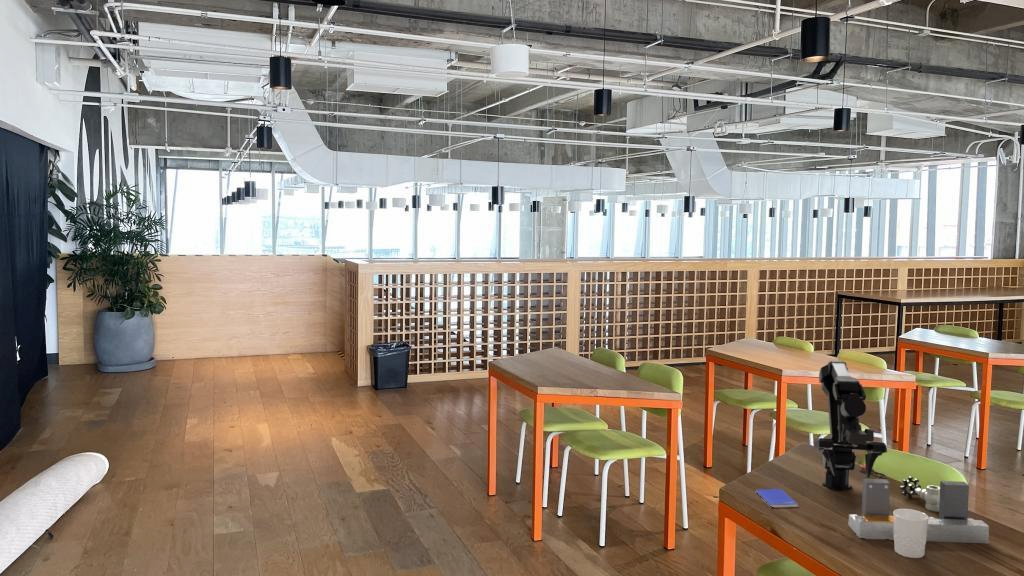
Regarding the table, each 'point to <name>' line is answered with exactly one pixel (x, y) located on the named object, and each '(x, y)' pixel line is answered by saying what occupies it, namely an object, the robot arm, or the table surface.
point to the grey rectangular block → (875, 497)
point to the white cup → (910, 532)
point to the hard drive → (777, 498)
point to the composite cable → (863, 469)
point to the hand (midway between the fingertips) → (851, 476)
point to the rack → (932, 520)
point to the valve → (923, 493)
